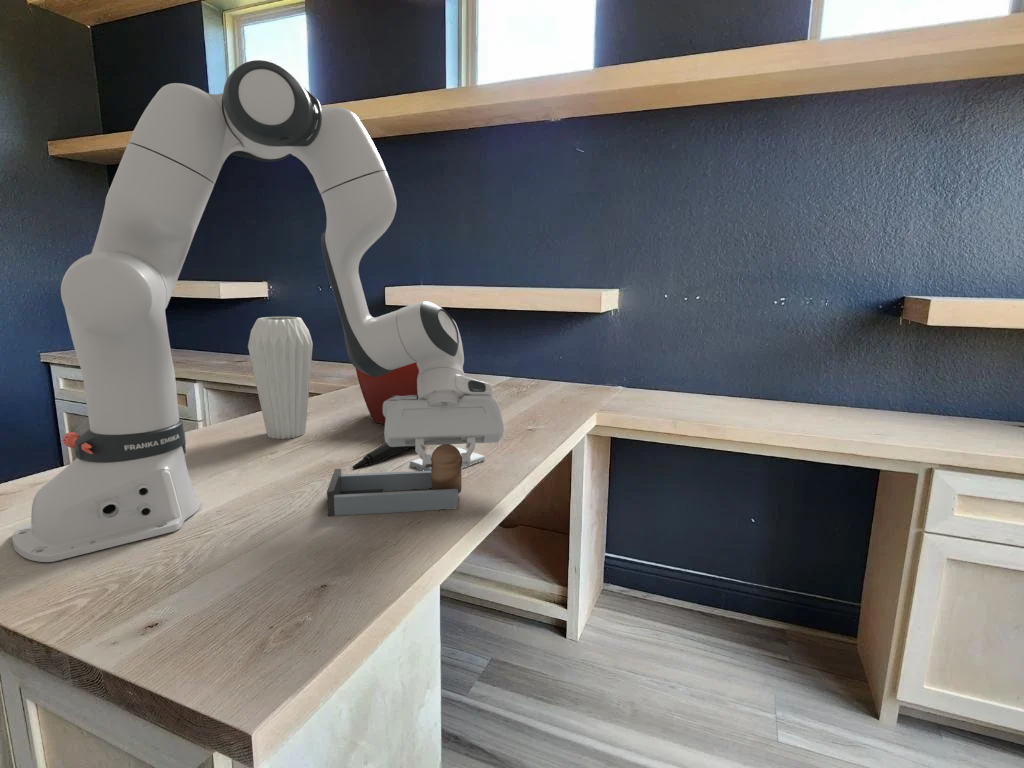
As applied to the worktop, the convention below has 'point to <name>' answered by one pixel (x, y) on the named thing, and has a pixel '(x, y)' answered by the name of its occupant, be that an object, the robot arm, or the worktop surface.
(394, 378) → the plant pot
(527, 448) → the worktop surface
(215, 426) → the worktop surface
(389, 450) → the microphone
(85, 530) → the robot arm
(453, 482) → the peg
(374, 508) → the channel
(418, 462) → the external hard drive
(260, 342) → the vase
